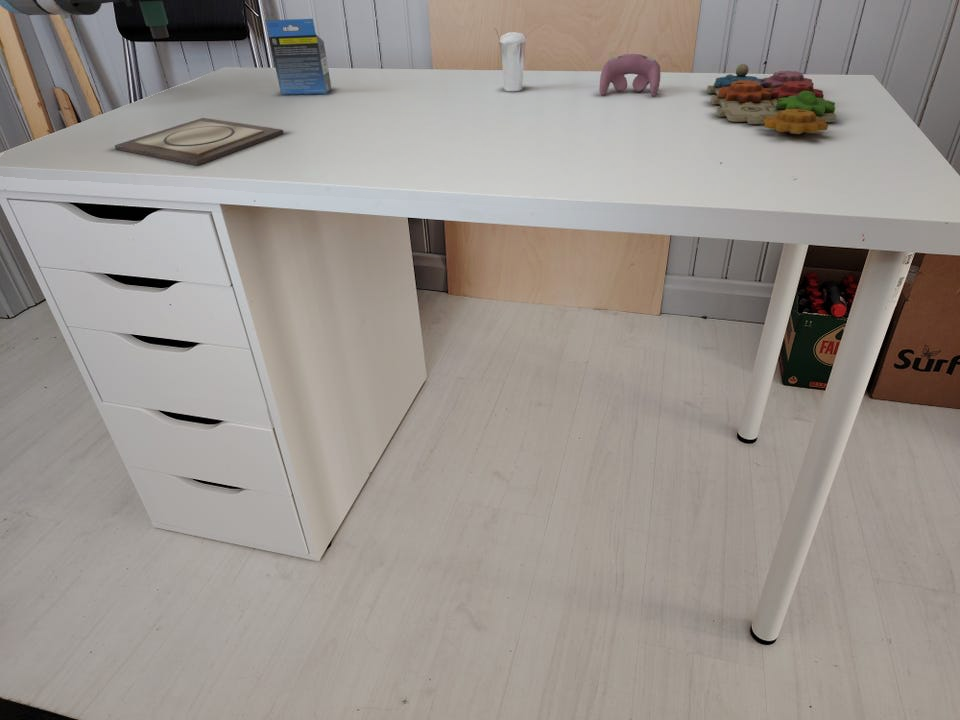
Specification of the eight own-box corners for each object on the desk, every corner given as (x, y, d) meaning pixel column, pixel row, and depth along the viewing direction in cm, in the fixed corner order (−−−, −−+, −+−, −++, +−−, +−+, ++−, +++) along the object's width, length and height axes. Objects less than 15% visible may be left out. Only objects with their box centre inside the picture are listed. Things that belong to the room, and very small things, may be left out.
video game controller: (657, 101, 110) (663, 58, 109) (658, 94, 105) (663, 49, 104) (599, 100, 112) (604, 57, 111) (597, 93, 108) (602, 49, 107)
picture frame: (115, 149, 94) (113, 143, 94) (203, 121, 106) (202, 115, 105) (197, 165, 87) (195, 159, 86) (283, 133, 98) (282, 127, 97)
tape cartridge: (332, 89, 121) (320, 15, 114) (326, 94, 118) (313, 18, 111) (287, 90, 122) (272, 16, 115) (279, 95, 119) (264, 20, 112)
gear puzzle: (857, 143, 83) (867, 110, 80) (725, 141, 86) (731, 109, 83) (805, 87, 108) (811, 60, 105) (704, 87, 110) (708, 61, 108)
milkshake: (492, 88, 116) (491, 26, 110) (520, 85, 117) (520, 23, 112) (500, 94, 112) (499, 30, 107) (529, 90, 114) (529, 27, 108)
